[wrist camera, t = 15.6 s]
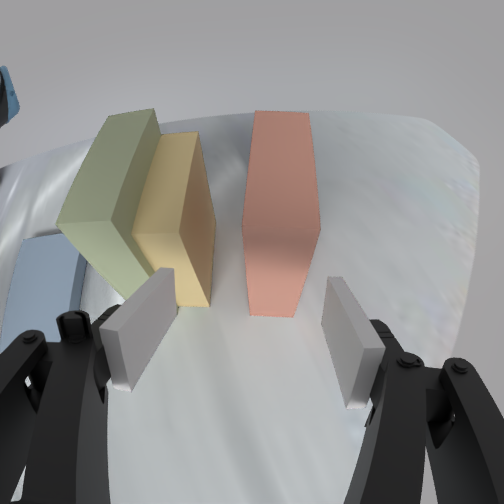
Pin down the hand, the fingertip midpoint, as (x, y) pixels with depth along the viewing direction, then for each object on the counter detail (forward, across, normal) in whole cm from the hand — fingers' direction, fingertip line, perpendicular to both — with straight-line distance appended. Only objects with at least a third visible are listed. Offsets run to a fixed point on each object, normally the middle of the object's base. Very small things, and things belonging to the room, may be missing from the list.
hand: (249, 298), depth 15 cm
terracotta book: (+18, +2, -4) cm, 19 cm away
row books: (+18, -9, -5) cm, 21 cm away
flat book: (+14, -27, -9) cm, 32 cm away
